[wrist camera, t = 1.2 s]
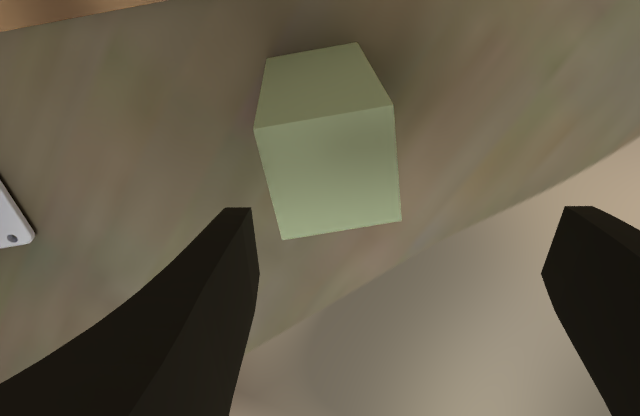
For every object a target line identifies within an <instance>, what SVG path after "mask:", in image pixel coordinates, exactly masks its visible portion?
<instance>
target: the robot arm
mask: <svg viewBox="0 0 640 416" xmlns="http://www.w3.org/2000/svg"><path fill="white" fill-rule="evenodd" d="M12 235H14V236H16V237H17V238H15V237H13V236H12ZM34 238H35V233H34V231H33V229H32V228H31V226H30V225H29V223H28V222H27V220H26V219H25V217H24V216H23V214H22V212H21V211H20V209H19V208H18V206H17V205H16V203H15V202H14V200H13V199H12V197H11V196H10V194H9V193H8V191H7V190H6V188H5V186H4V185H3V183H2V182H1V180H0V248H6V247H12V246H18V245H24V244H28V243H30V242H31V241H32V240H33V239H34ZM259 275H260V272H259V264H258V257H257V249H256V241H255V234H254V226H253V219H252V211H251V207H247V208H224V209H223V210H222V211H221V212H220V213H219V214H218V215H217V216H216V217H215V218H214V219H213V220H212V221H211V222H210V223H209V225H208V226H207V227H206V228H205V229H204V230H203V231H202V232H201V233H200V234H199V235H198V236H197V237H196V238H195V239H194V240H193V241H192V242H191V243H190V244H189V245H188V246H187V247H186V248H185V249H184V250H183V251H182V252H181V253H180V254H179V255H178V256H177V257H176V258H175V259H174V260H173V261H172V262H171V263H170V264H169V265H168V266H167V267H165V268H164V269H163V270H162V271H161V272H160V273H159V274H158V275H156V276H155V277H154V278H153V279H152V280H151V281H150V282H149V283H147V284H146V285H145V286H144V287H143V288H142V289H141V290H139V291H138V292H137V293H136V294H135V295H133V296H132V297H131V298H130V299H128V300H127V301H126V302H125V303H123V304H122V305H121V306H119V307H118V308H117V309H115V310H114V311H113V312H111V313H110V314H109V315H107V316H106V317H105V318H103V319H102V320H101V321H99V322H98V323H96V324H95V325H94V326H92V327H91V328H89V329H88V330H86V331H85V332H83V333H82V334H80V335H79V336H77V337H76V338H74V339H72V340H71V341H69V342H68V343H66V344H65V345H63V346H62V347H60V348H59V349H57V350H56V351H54V352H53V353H51V354H50V355H48V356H46V357H45V358H43V359H42V360H40V361H38V362H37V363H35V364H33V365H32V366H30V367H28V368H27V369H25V370H23V371H22V372H20V373H18V374H16V375H15V376H13V377H11V378H10V379H8V380H6V381H4V382H3V383H1V384H0V416H229V412H230V407H231V403H232V398H233V394H234V390H235V387H236V383H237V379H238V375H239V371H240V367H241V363H242V360H243V356H244V352H245V348H246V344H247V340H248V336H249V332H250V328H251V325H252V321H253V316H254V312H255V306H256V299H257V291H258V283H259ZM541 275H542V278H543V281H544V283H545V286H546V289H547V292H548V295H549V297H550V300H551V302H552V305H553V307H554V310H555V312H556V314H557V316H558V318H559V320H560V321H561V323H562V325H563V327H564V329H565V331H566V333H567V335H568V336H569V338H570V340H571V342H572V344H573V346H574V347H575V349H576V351H577V353H578V354H579V356H580V358H581V360H582V361H583V363H584V365H585V367H586V369H587V371H588V372H589V374H590V376H591V378H592V380H593V381H594V383H595V385H596V387H597V388H598V390H599V392H600V394H601V396H602V398H603V399H604V401H605V403H606V405H607V407H608V409H609V411H610V413H611V415H612V416H640V230H638V229H636V228H634V227H633V226H631V225H629V224H627V223H625V222H623V221H621V220H620V219H618V218H616V217H614V216H612V215H610V214H608V213H606V212H604V211H602V210H600V209H597V208H595V207H593V206H565V207H564V210H563V213H562V216H561V219H560V222H559V224H558V227H557V230H556V233H555V236H554V238H553V241H552V244H551V247H550V250H549V252H548V255H547V258H546V261H545V264H544V267H543V269H542V272H541Z"/></svg>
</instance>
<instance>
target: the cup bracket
mask: <svg viewBox="0 0 640 416" xmlns="http://www.w3.org/2000/svg"><path fill="white" fill-rule="evenodd" d="M162 1H167V0H0V32H2V31H8V30H13V29H18V28H23V27H29V26H34V25H39V24H45V23H50V22H55V21H61V20H66V19H71V18H77V17H82V16H87V15H93V14H98V13H103V12H108V11H114V10H119V9H124V8H130V7H135V6H140V5H146V4H151V3H156V2H162Z"/></svg>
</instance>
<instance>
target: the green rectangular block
mask: <svg viewBox="0 0 640 416" xmlns="http://www.w3.org/2000/svg"><path fill="white" fill-rule="evenodd" d="M253 131H254V135H255V139H256V143H257V146H258V150H259V154H260V158H261V161H262V165H263V169H264V173H265V177H266V180H267V184H268V188H269V192H270V196H271V199H272V203H273V207H274V211H275V215H276V218H277V222H278V226H279V230H280V234H281V237H282V240H287V239H293V238H299V237H305V236H311V235H317V234H324V233H330V232H336V231H342V230H348V229H354V228H360V227H366V226H373V225H379V224H385V223H391V222H397V221H402V219H401V205H400V191H399V176H398V162H397V148H396V133H395V119H394V105H393V103H392V101H391V100H390V98H389V96H388V94H387V93H386V91H385V89H384V88H383V86H382V84H381V82H380V81H379V79H378V77H377V75H376V74H375V72H374V70H373V69H372V67H371V65H370V63H369V62H368V60H367V58H366V56H365V55H364V53H363V51H362V50H361V48H360V46H359V44H358V43H357V42H354V43H349V44H343V45H337V46H332V47H326V48H321V49H315V50H310V51H304V52H299V53H293V54H288V55H282V56H277V57H271V58H267V60H266V65H265V70H264V75H263V80H262V85H261V91H260V96H259V101H258V106H257V111H256V116H255V122H254V127H253Z"/></svg>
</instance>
